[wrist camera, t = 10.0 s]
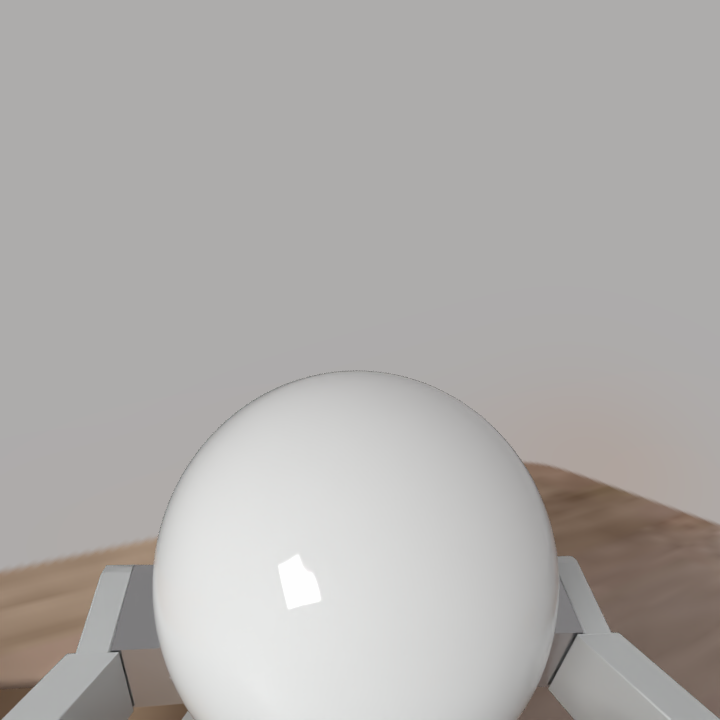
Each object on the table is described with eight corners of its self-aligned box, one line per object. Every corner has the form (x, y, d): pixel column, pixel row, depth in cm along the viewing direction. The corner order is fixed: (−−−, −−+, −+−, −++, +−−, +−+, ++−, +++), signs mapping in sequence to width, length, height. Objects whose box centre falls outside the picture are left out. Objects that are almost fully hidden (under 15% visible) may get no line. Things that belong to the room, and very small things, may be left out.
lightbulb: (311, 600, 18) (336, 268, 11) (504, 744, 15) (672, 405, 9) (131, 796, 13) (13, 425, 7) (356, 1055, 10) (487, 813, 4)
